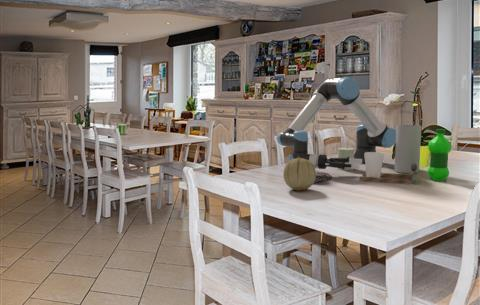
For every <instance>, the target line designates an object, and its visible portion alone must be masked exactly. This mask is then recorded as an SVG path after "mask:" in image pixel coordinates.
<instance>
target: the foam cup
mask: <svg viewBox="0 0 480 305" xmlns="http://www.w3.org/2000/svg"><path fill="white" fill-rule="evenodd" d="M364 158H365V163H364V165H365V172H366V176H365V177H377V178H381V177H380V176H381V173H382V169H383V164H384V159H385V153H383V152H377V151H376V152H366V153H364Z"/></svg>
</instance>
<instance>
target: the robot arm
mask: <svg viewBox="0 0 480 305" xmlns="http://www.w3.org/2000/svg"><path fill="white" fill-rule="evenodd" d="M360 89H361V88H360V85H359V82H358V81H357V80H356V79H355V78H353V77H348V76H344V77H330V78H328V79H326V80H324V81H323V82H322V83H321V84H320V85H319V86H318V87H316V89H315V91H314V92H313V93H312V97H311V98H310V100H308V102H307V103H306V104H305V105H304V107H303V108H302V109H301V110H300V112H299V113H298V114H297V116H296V117H295V118H294V120H293V121H292V122H291V124H289V126H288V127H287V128H286V130H285V131H282V132H280V133H278V135H277V137H276V140H277V143H278V145H280V146H283V147H288V148H292V149H293V150H292V151H293V152H291V153H289V156H288V162H289V161H290V160H292V159H296V158H297V156H299V157H300V158H303V159H306V160H309V161H310V162H311V163H312V164H313V166H314V168H315V169H318V170H326V169H327V168H328V167H329V168H336V169H337V168H341V169H343V170H342V171H345V170H344V168H353V170H354V169H355V170H357V169H359V167H360V166H359V165H363V164H365V158H364V153H366V152H377V149H376V148H377V147H380V148H384V149H386V148H387V149H389V148H392V147H393V146H394V145H396V128H392V127H389V126H388V125H387V123H386V122H384V121H380V119H379V118H378V117H377V115H375V113H374V112H373V111H372V109H371V108H370V107H369V106H368V104H367V103H366V102H365V101H364V99H363V98H362V97H361V96H360V95H361V92H360ZM334 99H335V100H338V101H339V102H340V103H341V105H342V106H344V107H346V106H347V107H348V108H349V110H350V111H351V112H352V113H353V115H354V116H355V117H356V118H357V120H359V122H360V123H361V124H359V125H357V127H356V132H355V133H356V136H355V138H356V142H355V143H356V144H355V150H354V159H351V158H349V157H348V158H338V157H330V158H328V156H327V154H321V153H320V154H319V153H317V154H316V153H309V152H308V150H309V149H308V148H309V146H308V144H309V137H308V136H309V135H308V132H307V131H306V130H305V128H306V127H307V126H308V125H309V123H310V122H311V121H312V120H313V118H314V117H315V116H316V115H317V113H319V111H320V110H321V108H322V107H323V106H324V105H327V103H329V101H330V100H334Z"/></svg>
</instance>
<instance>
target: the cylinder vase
mask: <svg viewBox="0 0 480 305" xmlns="http://www.w3.org/2000/svg"><path fill="white" fill-rule="evenodd" d="M395 130H396V142H395V149H394V150H395V151H394V152H395V155H394V171H395V172H396V173H398V174H409V175H412V170H411V164H412V163H413V162H415V163H417V170H416V171H415V174H418V173H420V160H421V143H422V141H421V140H422V125H419V124H397V125H396V128H395Z"/></svg>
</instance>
